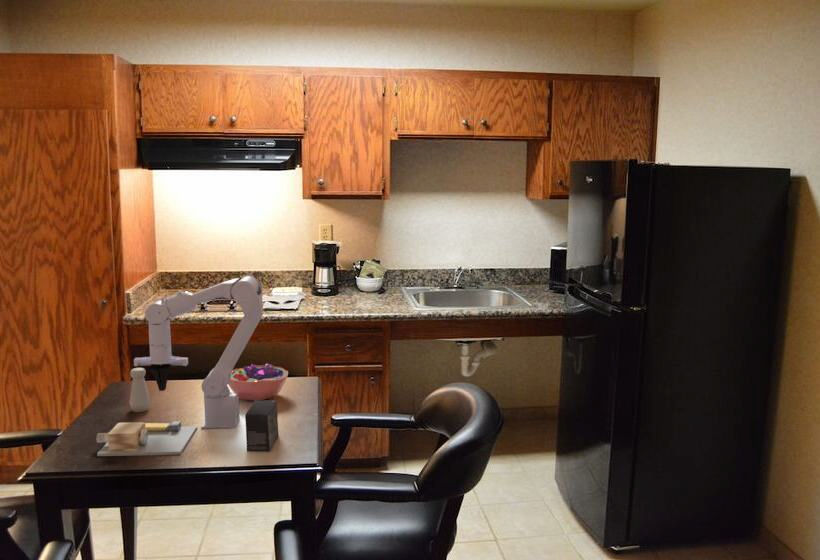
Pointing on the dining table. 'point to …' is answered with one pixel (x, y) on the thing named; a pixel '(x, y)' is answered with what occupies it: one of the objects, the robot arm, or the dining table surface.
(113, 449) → the block
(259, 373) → the cell model
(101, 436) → the pin
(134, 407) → the salt shaker
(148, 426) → the tab
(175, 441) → the board
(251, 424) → the small box
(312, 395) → the dining table surface
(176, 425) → the block
